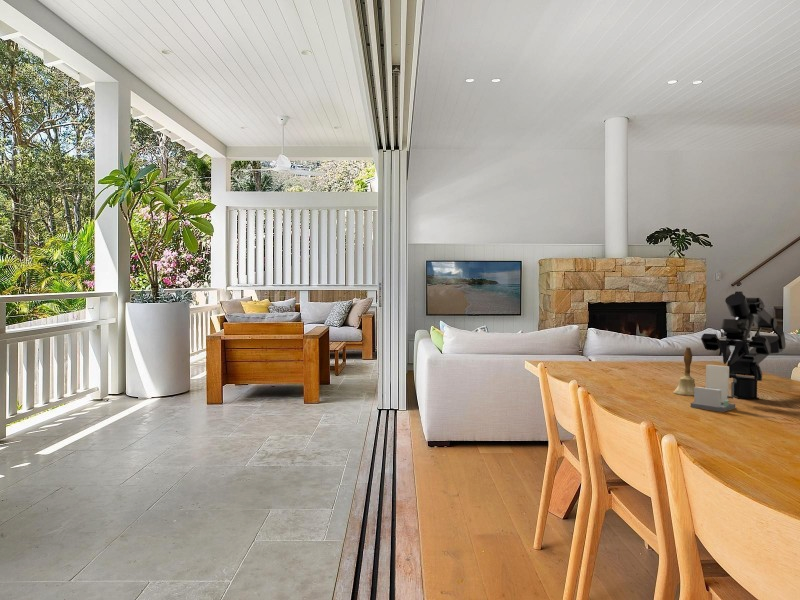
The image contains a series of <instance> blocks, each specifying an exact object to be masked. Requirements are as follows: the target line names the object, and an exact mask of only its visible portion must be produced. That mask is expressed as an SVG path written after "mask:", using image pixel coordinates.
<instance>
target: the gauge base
mask: <svg viewBox="0 0 800 600" xmlns="http://www.w3.org/2000/svg"><path fill="white" fill-rule="evenodd" d="M693 398H694V399H693V402H691V403H690V408H694V409H700V410H707V411H714V412H720V413H724V412H728V411H731V410H734V409H736V403H730V402H729V401H730V400H729V401H724V403H722V402H721V390H718V389H710V388H706V387H701V386H696V387H694V396H693Z"/></svg>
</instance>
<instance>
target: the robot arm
mask: <svg viewBox="0 0 800 600" xmlns="http://www.w3.org/2000/svg"><path fill="white" fill-rule="evenodd" d="M725 304H726V306H727V309H728V312H729V314H730V316H731V317H733V319H730V318H723V319H722V323H721V328H720V329H721V330H723V336H719V337H718V335H717V334H716V333H703V334H702V335H701V338H700V340H701V343H702V345H703V346H704V349H705V350H707V351H713V352H714V351H718V350H719V351H720V352H721V353H722V360H723V361H722V362H723V364H724V365H726V366H729V379H732V382H731V384H730V385H731V387H730V395H731V397H733V398H737V399H743V400H744V399H747V400H749V399H750V400H760V397H759V396H758V381H759V382H762V381H763V372H762V369H761V367H760V364H761V362H763V361H764V360H765V359H766V358H767V357H768V356H770V355H771V354H772V355H773V354H780V353H781V352H783V351H784V350H785V348H786V336H785V332H784V330H782V328H781V327H780V326H779V325H778V321H777V318H776V317H773V316H772V315H771V314H770V313H769V312H768V311H766V309H765V307H766V305H765V303H764V301H763V299H761V298H760V297H746V295H744V293H743V291H736V290H735V292H734V293H731V294H730V295H728V296H727V297H726V298H725ZM755 323H756V324H757V327H758V328H757V331H756V332H755V333H754V335H753V336H751V331H752V328H753V327H756V326H755ZM761 329H772V331H773V332H774V334H776V335H767V334H760V331H761ZM750 338H751V339H750ZM731 347H732V348H734V349H733V351H732V352H731V349H730V348H731Z"/></svg>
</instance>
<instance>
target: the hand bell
mask: <svg viewBox="0 0 800 600" xmlns="http://www.w3.org/2000/svg"><path fill="white" fill-rule="evenodd" d="M692 361H693V353H692V349H691V347H688V346H687V347H686V348H685V350H684V353H683V363H684V375H683V376H681V377H679V382H678V385H677V387H676V388H675V390H674V389H673V393H674V394H677V395H680V396H681V395H682V396H690V397H691V396H692V397H694V387H697V386H696V382H695V381H696V380H695V378H694V377H692V375H691V364H692Z"/></svg>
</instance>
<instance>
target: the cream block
mask: <svg viewBox="0 0 800 600" xmlns="http://www.w3.org/2000/svg"><path fill="white" fill-rule="evenodd" d="M705 388H710V389H718V390H721V402H722V403H724V401H730V400H729V399H732V400H733V399H734V396H732V395H731V396H730V394H729V393H730V378H729V366H727V365H726V366H725V365H716V364H706V365H705Z"/></svg>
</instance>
